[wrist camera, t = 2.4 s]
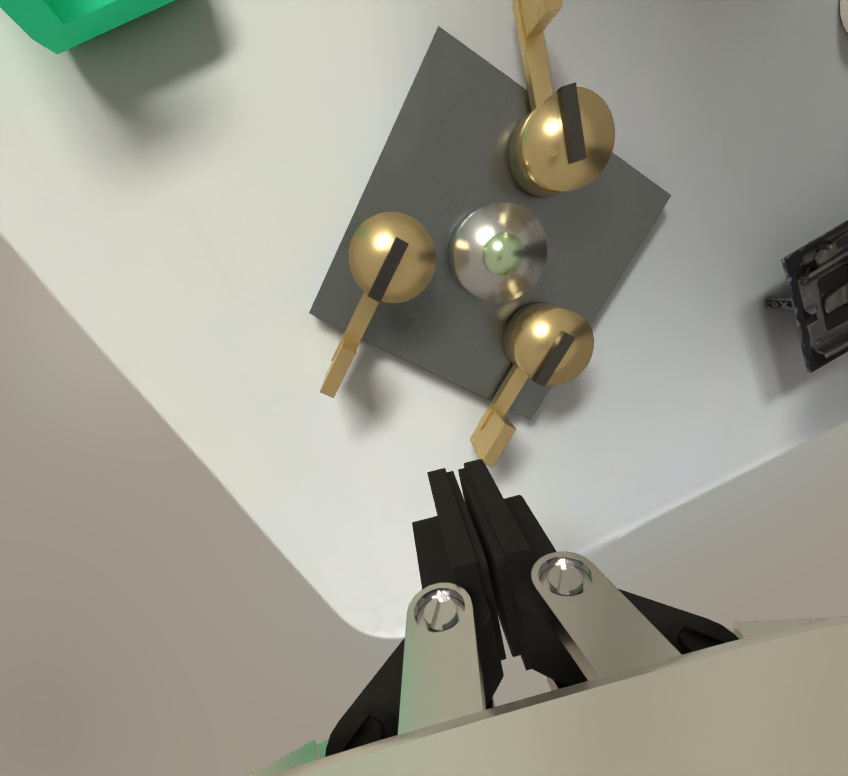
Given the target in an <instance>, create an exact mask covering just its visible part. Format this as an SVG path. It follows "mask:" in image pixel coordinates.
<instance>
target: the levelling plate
mask: <svg viewBox="0 0 848 776" xmlns="http://www.w3.org/2000/svg"><path fill="white" fill-rule="evenodd" d="M529 113H531V107H530V101H529V96H528V91H527V90H526V89H524V88H523V87H522V86H520V85H519V84H517V83H516V82H515V81H513V80H512V79H511V78H509V77H508V76H506V75H505V74H504V73H502V72H501V71H500V70H498V69H497V68H495V67H494V66H493V65H491V64H490V63H489V62H487V61H486V60H484V59H483V58H482V57H480V56H479V55H478V54H476V53H475V52H473V51H472V50H471V49H469V48H468V47H467V46H465V45H464V44H462V43H461V42H460V41H458V40H457V39H456V38H454V37H453V36H451V35H450V34H449V33H447V32H446V31H445V30H443V29H442V28H440V27H439V26H438V29H437V31H436V33H435V35H434V37H433V40H432V42H431V44H430V46H429V48H428V51H427V53H426V55H425V57H424V60H423V62H422V64H421V66H420V68H419V71H418V73H417V75H416V77H415V79H414V82H413V84H412V86H411V88H410V91H409V93H408V95H407V97H406V99H405V102H404V104H403V106H402V108H401V110H400V113H399V115H398V117H397V119H396V122H395V124H394V126H393V128H392V130H391V133H390V135H389V137H388V139H387V141H386V144H385V146H384V148H383V150H382V153H381V155H380V157H379V159H378V161H377V164H376V166H375V168H374V170H373V172H372V175H371V177H370V179H369V181H368V184H367V186H366V188H365V190H364V192H363V195H362V197H361V199H360V201H359V203H358V206H357V208H356V210H355V212H354V215H353V217H352V219H351V221H350V223H349V226H348V228H347V230H346V232H345V235H344V237H343V239H342V241H341V243H340V246H339V248H338V250H337V252H336V254H335V257H334V259H333V261H332V263H331V266H330V268H329V270H328V272H327V274H326V277H325V279H324V281H323V283H322V285H321V288H320V290H319V292H318V294H317V297H316V299H315V301H314V303H313V305H312V308H311V310H310V312H309V313H310V314H312V315H314V316H316V317H318V318H320V319H322V320H325V321H327V322H329V323H331V324H333V325H335V326H337V327H339V328H341V329H343V330H346V328H347V326H348V324H349V322H350V320H351V318H352V316H353V314H354V312H355V309H356V307H357V305H358V303H359V301H360V299H361V297H362V295H363V293H364V291H363V290H362V289H361V288H360V287H359V286H358V284H357V283H356V281H355V279H354V278H353V275H352V273H351V270H350V266H349V247H350V243H351V240H352V238H353V236H354V234H355V232H356V230H357V229H358V228H359V227H360V225H361V224H362V223H363V222H365V221H366V220H367V219H369V218H370V217H372V216H374V215H377V214H379V213H384V212H399V213H403V214H406V215H409V216H411V217H413V218H414V219H416V220H417V221H418V222H420V223H421V224H422V225H423V226H424V227H425V229H426V230H427V231H428V233H429V234H430V236H431V238H432V240H433V243H434V247H435V251H436V265H435V270H434V273H433V276H432V278H431V280H430V282H429V284H428V285H427V287H426V288H425V289H424V290H423V291H422V292H421V293H420V294H418V295H417V296H416V297H414V298H412V299H410V300H408V301H405V302H401V303H386V302H382V301H381V302H379V304H378V306H377V308H376V310H375V312H374V314H373V316H372V318H371V320H370V322H369V324H368V326H367V328H366V330H365V332H364V334H363V336H362V339H364V340H366V341H368V342H370V343H372V344H374V345H376V346H378V347H380V348H382V349H385V350H387V351H389V352H391V353H393V354H395V355H397V356H399V357H401V358H403V359H405V360H407V361H409V362H411V363H413V364H416V365H418V366H420V367H422V368H424V369H426V370H428V371H430V372H432V373H434V374H436V375H438V376H440V377H442V378H444V379H447V380H449V381H451V382H453V383H455V384H457V385H459V386H461V387H463V388H465V389H467V390H469V391H471V392H473V393H476V394H478V395H480V396H482V397H484V398H486V399H488V400H490V401H492V400H493V398H494V396H495V395H496V393H497V391H498V390H499V388H500V386H501V385H502V383H503V381H504V380H505V378H506V376H507V375H508V373H509V371H510V370H511V368H512V366H513V363H512V362H511V361H510V360H509V359H508V357H507V355H506V353H505V350H504V345H503V338H504V332H505V329H506V326H507V324H508V322H509V321H510V319H511V318H512V317H513V315H514V314H515V313H517V312H518V311H519V310H520V309H522V308H524V307H525V306H528V305H530V304H534V303H546V304H550V305H553V306H557V307H560V308H563V309H566V310H569V311H572V312H575V313H577V314H579V315H580V316H582V317H583V318H584V319H585V320H586V321H587V322H588V324H589V326H590V324H591V322H592V321H593V319H594V318H595V316H596V314H597V313H598V311H599V310H600V308H601V306H602V305H603V303H604V302H605V300H606V299H607V297H608V295H609V294H610V292H611V291H612V289H613V287H614V286H615V284H616V283H617V281H618V279H619V278H620V276H621V275H622V273H623V271H624V270H625V268H626V267H627V265H628V263H629V262H630V260H631V259H632V257H633V256H634V254H635V252H636V251H637V249H638V248H639V246H640V244H641V243H642V241H643V240H644V238H645V236H646V235H647V233H648V232H649V230H650V228H651V227H652V225H653V224H654V222H655V220H656V219H657V217H658V216H659V214H660V213H661V211H662V209H663V208H664V206H665V205H666V203H667V201H668V200H669V198H670V197H671V195H670V194H669V193H667V192H666V191H664V190H663V189H662V188H660V187H659V186H658V185H656V184H655V183H653V182H652V181H651V180H649V179H648V178H647V177H645V176H644V175H642V174H641V173H640V172H638V171H637V170H636V169H634V168H633V167H631V166H630V165H629V164H627V163H626V162H625V161H623V160H622V159H620V158H619V157H618V156H616V155H615V154H614V153H612V154H611V156H610V159H609V161H608V163H607V165H606V166H605V168H604V169H603V171H602V172H601V173H600V174H599V175H598V176H597V177H596V178H595V179H594V180H593V181H592V182H590V183H589V184H587V185H585V186H583V187H581V188H578V189H574V190H571V191H567V192H564V193H560V194H557V195H553V196H548V197H540V196H535V195H532V194H530V193H528V192H526V191H525V190H524V189H522V188H521V187H520V186H519V184H518V183H517V182H516V180H515V179H514V177H513V175H512V172H511V169H510V165H509V146H510V141H511V138H512V135H513V133H514V131H515V129H516V128H517V126H518V125H519V123H520V122H521V121H522V120H523V119H524V118H525V117H526V116H527V115H528V114H529ZM550 388H551V386H549V385H546V386H545V387H543V386H541V385H539V384H537V383H535V382H534V381H533V380H532V379H531V378H530V377H528V378H527V380H526V382H525V383H524V385H523V387H522V388H521V390H520V392H519V393H518V395H517V396H516V398H515V400H514V401H513V403H512V405H511V406H510V408H509V410H511V411H513V412H515V413H517V414H519V415H521V416H523V417H525V418H527V419H529V420H531V418H532V416H533V415H534V413H535V412H536V410H537V408H538V407H539V405H540V404H541V402H542V400H543V399H544V397H545V396H546V394H547V392H548V391H549V389H550Z"/></svg>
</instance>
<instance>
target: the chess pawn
mask: <svg viewBox="0 0 848 776" xmlns="http://www.w3.org/2000/svg"><path fill="white" fill-rule="evenodd" d="M840 16H841V20H842V23H843V27H844V28H845V30H846V32H847V33H848V0H840Z"/></svg>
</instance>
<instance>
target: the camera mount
mask: <svg viewBox="0 0 848 776" xmlns="http://www.w3.org/2000/svg"><path fill="white" fill-rule="evenodd" d="M173 1H175V0H0V7H1V8H2V9H3V10H4V11H5V12H6V13H7V14H8V15H9V16H10V17H11V18H12V19H13V20H14V21H15V22H16V23H17V24H18V25H19V26H20V27H21V28H22V29H23V30H24V31H25V32H26V33H27V34H28V35H29V36H30V37H31V38H32V39H33V40H35V41H36V42H38V43H40V44H41V45H43V46H45V47H46V48H48V49H49V50H51V51H53V52H54V53H56V54H59V53H61V52H63V51H65V50H68V49H70V48H72V47H74V46H76V45H79V44H81V43H83V42H85V41H87V40H90V39H92V38H94V37H96V36H98V35H100V34H103V33H105V32H107V31H109V30H111V29H114V28H116V27H118V26H120V25H122V24H125V23H127V22H129V21H131V20H133V19H135V18H138V17H140V16H142V15H144V14H146V13H149V12H151V11H153V10H155V9H157V8H160V7H162V6H164V5H166V4H168V3H170V2H173Z"/></svg>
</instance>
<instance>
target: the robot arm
mask: <svg viewBox="0 0 848 776" xmlns="http://www.w3.org/2000/svg"><path fill="white" fill-rule="evenodd" d="M458 471H459V477H460V481H461V486H462V491H463V496H464V499H463V496H462V493H461V491H460V488H459V485H458V483H457V480H456V477H455V475H454V472H453V471H451V472H447V473H446V470H445V468H443V469H439V470H435V471H431V472H427V473H428V478H429V482H430V486H431V490H432V494H433V499H434V503H435V507H436V511H437V515H438V516H435V517H432V518H428V519H424V520H420V521H416V522H412V525H413V532H414V538H415V545H416V551H417V558H418V564H419V571H420V577H421V584H422V590H421V591H420V592H419V593H417V594H416V595H415V596H414V597H413V599H412V601H411V602H410V604H409V607H408V611H407V619H406V632H405V638H404V639H403V641H402V642H401V643H400V644H399V646H398V647H397V648H396V650H395V651H394V652H393V653H392V655H391V656H390V657H389V658H388V660H387V661H386V662H385V663H384V665H383V666H382V667H381V669H380V670H379V671H378V672H377V674H376V675H375V676H374V678H373V679H372V680H371V681H370V682H369V684H368V685H367V686H366V688H365V689H364V690H363V691H362V693H361V694H360V695H359V696H358V698H357V699H356V700H355V702H354V703H353V704H352V705H351V707H350V708H349V709H348V710H347V712H346V713H345V714H344V715H343V717H342V718H341V720H340V721H339V722H338V723H337V725H336V727H335V728H334V730H333V731H332V733H331V735H330V738H329V739H328V740H326V741H324V742H322V743H320V744H319V745H316V742H315V740H313V741H311V742H309V743H307V744H305V745H304V746H302V747H300V748H298V749H296V750H295V751H293V752H291V753H289V754H287V755H285V756H283V757H281V758H280V759H278V760H276V761H274V762H272V763H270V764H269V765H267V766H265V767H263V768H261V769H259V770H257V771H256V772H254V773H252V774H250V775H248V776H848V616H846V617H837V618H820V619H819V618H818V619H796V620H776V621H753V622H735V623H734V629H727V628H725V627H724V626H722V625H720V624H718V623H716V622H713V621H711V620H709V619H707V618H704V617H701V616H697V615H694V614H692V613H689V612H686V611H683V610H679V609H677V608H673V607H671V606H667V605H665V604H662V603H659V602H655V601H653V600H650V599H647V598H644V597H641V596H637V595H635V594H632V593H629V592H626V591H623V590H620V589H617V588H616V587H615V586H614V585H613V583H611V581H610V580H609V579H608V578H607V577H606V576H605V575H604V574H603V573H602V572H601V571H600V570H599V569H598V568H597V567H596V566H595V565H594V564H593V563H592V562H591V561H589V560H588V559H587V558H585V557H583V556H581V555H578V554H576V553H571V552H556V550H555V548H554V547H553V545H552V544H551V542H550V540H549V539H548V537H547V536H546V534H545V532H544V531H543V529H542V527H541V526H540V524H539V523H538V521H537V519H536V518H535V516H534V515H533V513H532V511H531V510H530V508H529V507H528V505H527V503H526V502H525V500H524V499H523V497H522V496H521V495H517V496H513V497H509V498H505V499H503V497H502V495H501V493H500V491H499V489H498V487H497V486H496V484H495V482H494V480H493V478H492V476H491V474H490V473H489V471H488V469H487V467H486V465H485V463H484V462H483V460H482V459H479V460H475V461H471V462H467V463H464V468H463V469H459V470H458ZM464 500H465V501H464ZM497 614H498V615H497ZM498 617H499V620H500V623H501V625H502V628H503V631H504V633H505V637H506V640H507V642H508V645H509V648H510V651H511V654H512V656H513V657H515V656H519V655H521V658H522V660H523V663H524V666H525V668H526V670H529V669H534V670H535V671H537V672H539V673H541V674H543V675H545V676H547V680H548V683H549V685H550V688H551V690H552V691H551V692H547V693H543V694H540V695H536V696H533V697H529V698H526V699H522V700H518V701H515V702H511V703H508V704H504V705H501V706H497V707H495V704H494V699H493V695H494V693H495V691H496V689H497V687H498V686H499V684H500V682H501V680H502V678H503V676H504V675H503V670H502V665H501V660H504V659H506V655H505V650H504V645H503V640H502V635H501V630H500V625H499V620H498Z"/></svg>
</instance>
